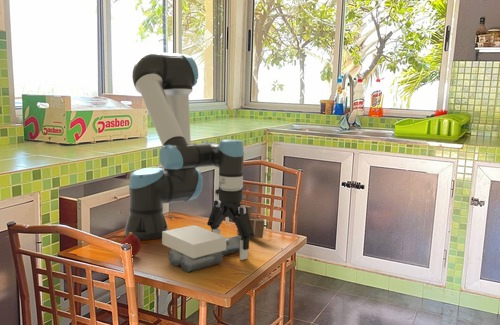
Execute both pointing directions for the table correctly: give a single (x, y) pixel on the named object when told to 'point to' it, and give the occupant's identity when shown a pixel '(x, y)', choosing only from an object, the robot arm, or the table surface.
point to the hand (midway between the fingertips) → (229, 253)
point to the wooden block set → (255, 224)
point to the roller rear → (175, 257)
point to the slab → (194, 241)
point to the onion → (132, 243)
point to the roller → (232, 245)
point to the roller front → (200, 261)
